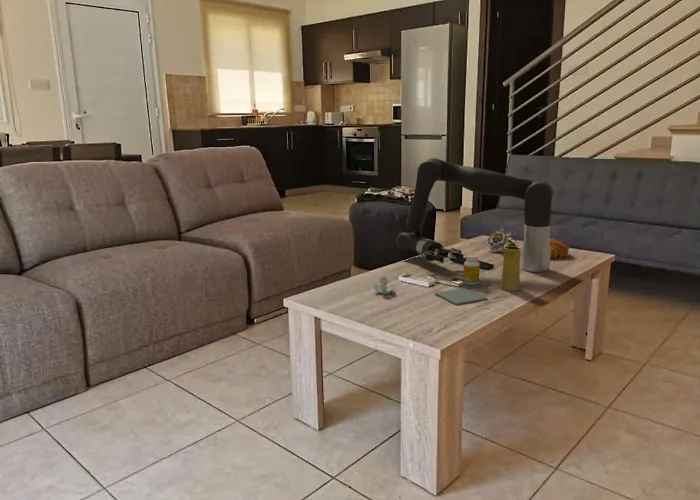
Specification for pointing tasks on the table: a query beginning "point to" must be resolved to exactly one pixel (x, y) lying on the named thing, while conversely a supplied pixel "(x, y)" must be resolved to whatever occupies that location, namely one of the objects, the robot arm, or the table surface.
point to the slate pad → (460, 296)
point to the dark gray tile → (480, 284)
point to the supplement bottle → (471, 270)
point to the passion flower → (499, 240)
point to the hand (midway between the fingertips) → (452, 258)
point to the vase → (511, 268)
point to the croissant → (558, 249)
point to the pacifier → (384, 286)
